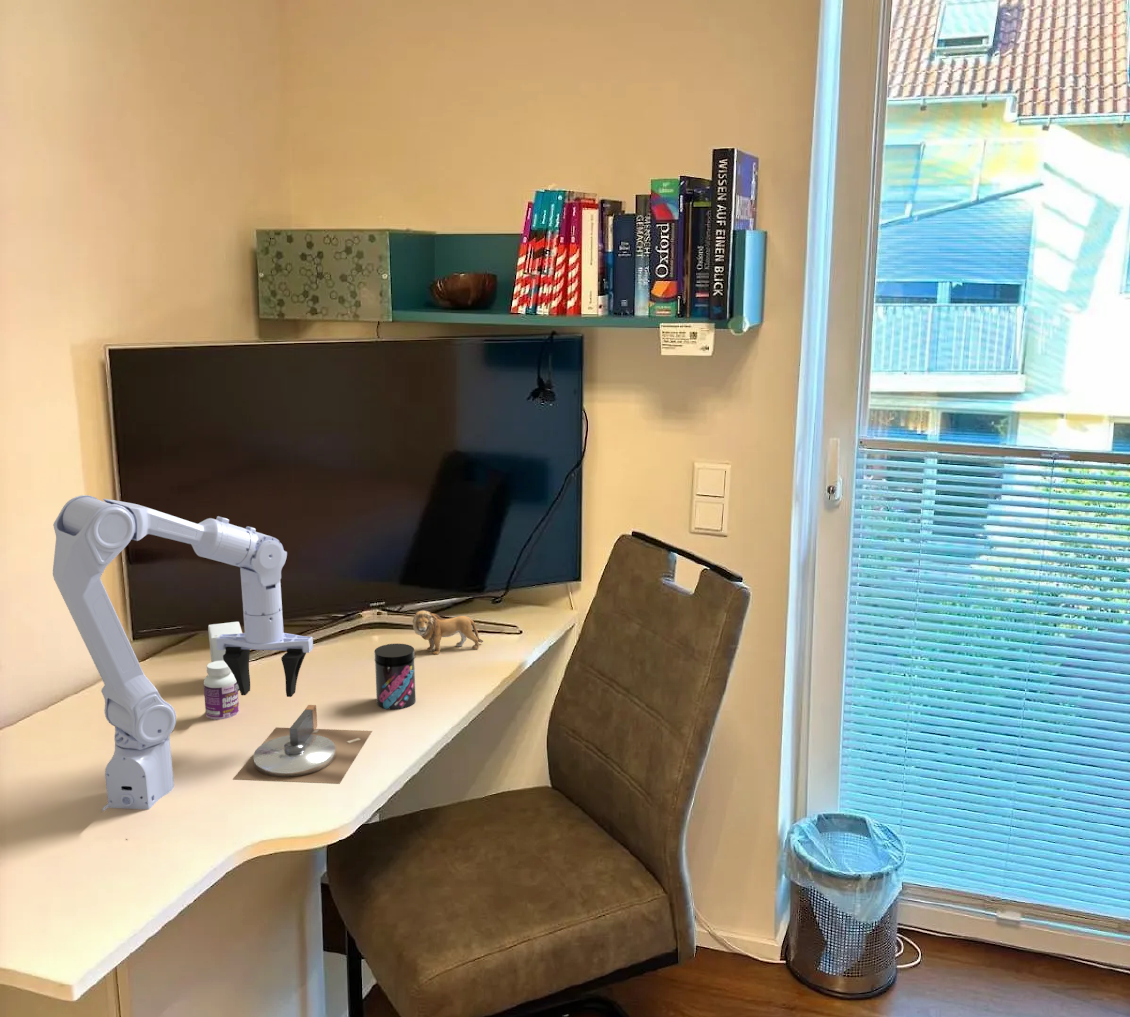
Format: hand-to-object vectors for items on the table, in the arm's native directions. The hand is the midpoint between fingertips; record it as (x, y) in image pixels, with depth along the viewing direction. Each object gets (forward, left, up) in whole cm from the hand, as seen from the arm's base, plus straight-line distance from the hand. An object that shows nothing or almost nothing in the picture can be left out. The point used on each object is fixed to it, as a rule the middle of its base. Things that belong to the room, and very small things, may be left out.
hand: (268, 693), depth 164 cm
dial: (-3, -5, -8) cm, 10 cm away
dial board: (-3, -7, -9) cm, 12 cm away
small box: (+26, +17, -10) cm, 33 cm away
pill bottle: (+11, +12, -10) cm, 19 cm away
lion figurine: (+46, -19, -10) cm, 51 cm away
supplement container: (+18, -16, -10) cm, 26 cm away
